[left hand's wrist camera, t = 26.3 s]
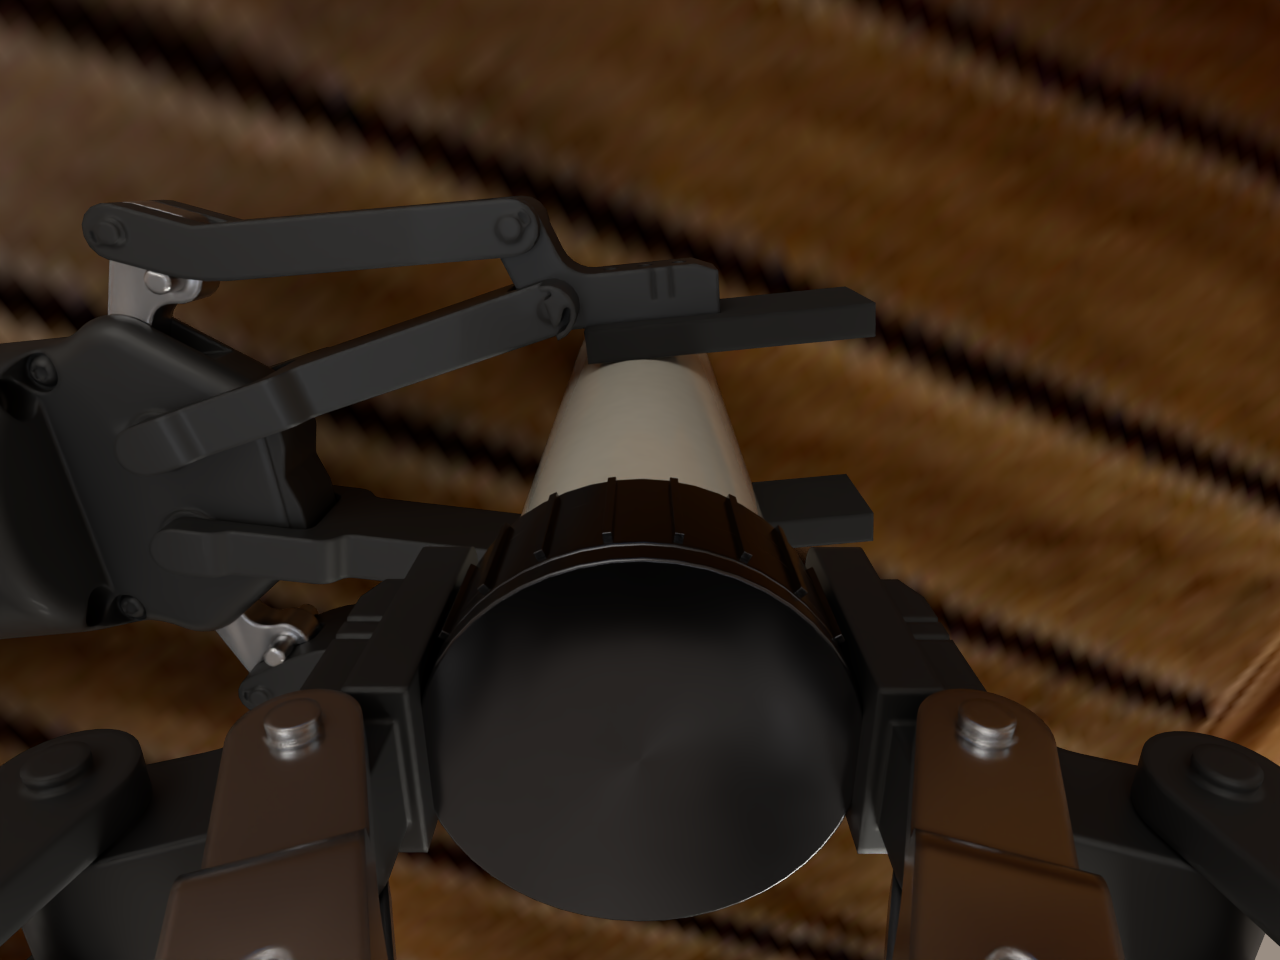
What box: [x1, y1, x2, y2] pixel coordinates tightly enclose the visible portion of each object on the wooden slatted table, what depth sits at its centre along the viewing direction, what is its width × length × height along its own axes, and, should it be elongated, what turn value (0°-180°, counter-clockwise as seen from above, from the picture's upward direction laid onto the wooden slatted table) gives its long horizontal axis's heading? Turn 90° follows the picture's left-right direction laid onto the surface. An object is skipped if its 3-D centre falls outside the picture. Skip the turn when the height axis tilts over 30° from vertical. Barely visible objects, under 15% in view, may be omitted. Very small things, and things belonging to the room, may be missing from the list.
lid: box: [421, 477, 863, 921], centre depth 10 cm, size 5×5×2 cm
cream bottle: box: [521, 340, 764, 519], centre depth 18 cm, size 4×4×17 cm
